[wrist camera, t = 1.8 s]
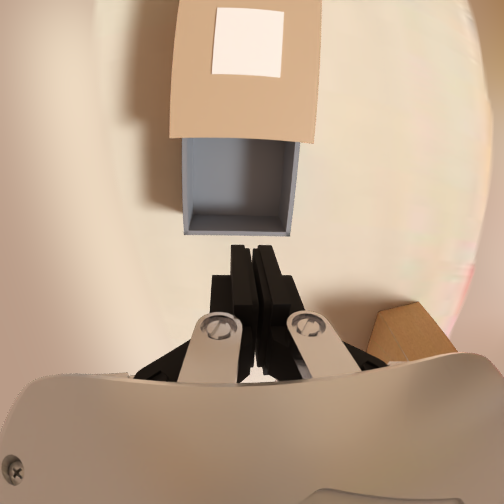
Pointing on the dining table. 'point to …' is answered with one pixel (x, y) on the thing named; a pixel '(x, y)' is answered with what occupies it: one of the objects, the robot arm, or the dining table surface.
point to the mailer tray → (238, 186)
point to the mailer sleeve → (246, 69)
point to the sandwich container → (407, 335)
